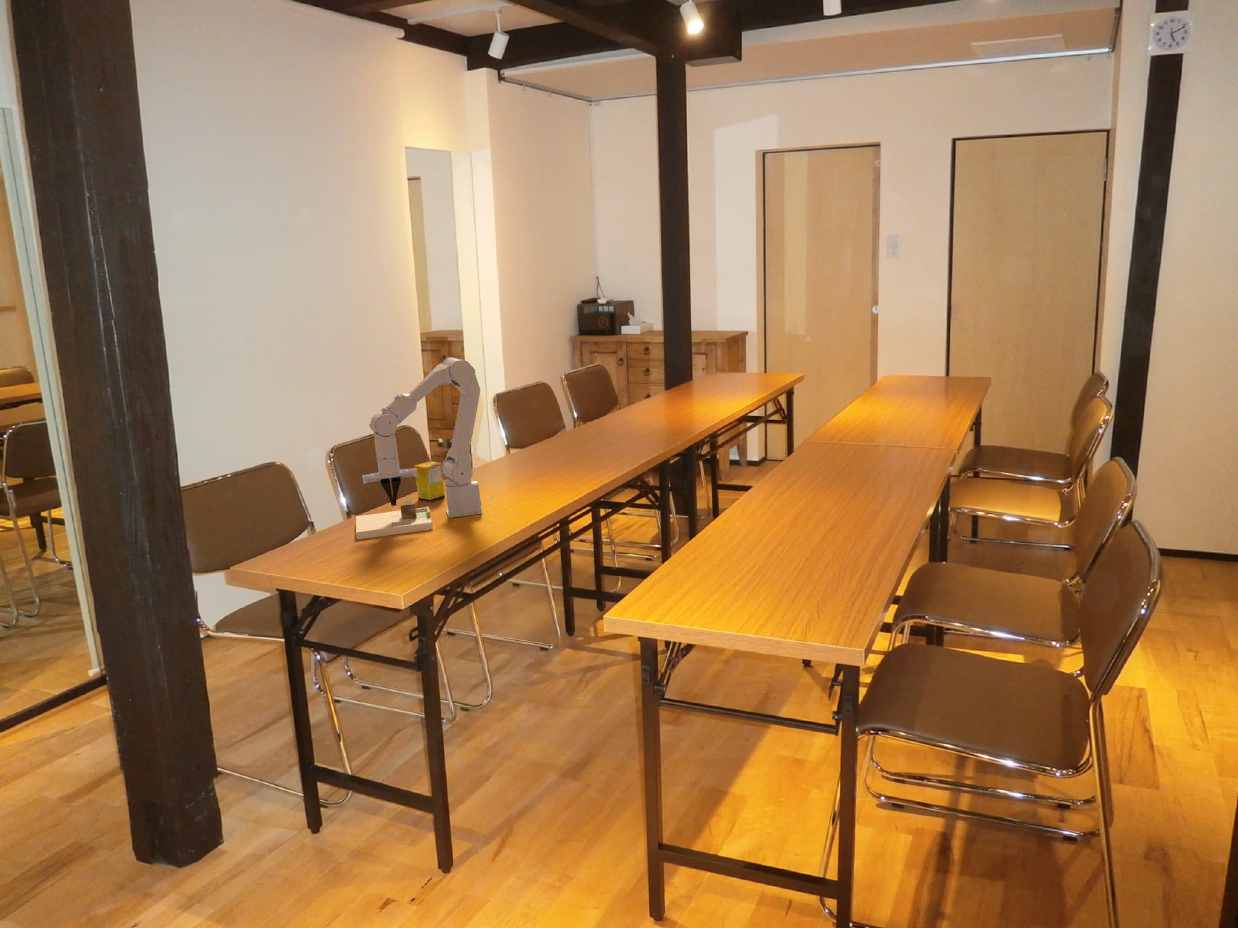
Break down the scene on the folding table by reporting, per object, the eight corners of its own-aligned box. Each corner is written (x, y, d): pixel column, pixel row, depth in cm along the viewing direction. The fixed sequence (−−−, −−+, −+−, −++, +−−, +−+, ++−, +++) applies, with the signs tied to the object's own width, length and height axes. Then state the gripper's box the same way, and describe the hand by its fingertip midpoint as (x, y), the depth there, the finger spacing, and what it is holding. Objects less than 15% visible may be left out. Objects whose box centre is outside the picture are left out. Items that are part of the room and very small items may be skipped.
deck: (428, 513, 280) (427, 501, 279) (432, 529, 264) (431, 516, 263) (357, 523, 275) (355, 510, 274) (357, 539, 259) (355, 526, 259)
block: (416, 514, 272) (414, 500, 272) (416, 517, 269) (415, 504, 268) (401, 515, 272) (400, 502, 271) (402, 519, 268) (400, 505, 267)
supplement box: (432, 495, 300) (428, 460, 298) (445, 497, 297) (441, 462, 294) (417, 500, 296) (413, 465, 293) (430, 502, 292) (426, 467, 290)
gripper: (413, 450, 270) (419, 497, 274) (360, 457, 267) (366, 504, 270) (415, 455, 264) (421, 503, 267) (360, 462, 260) (366, 511, 263)
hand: (393, 504), depth 268 cm, fingers closed
